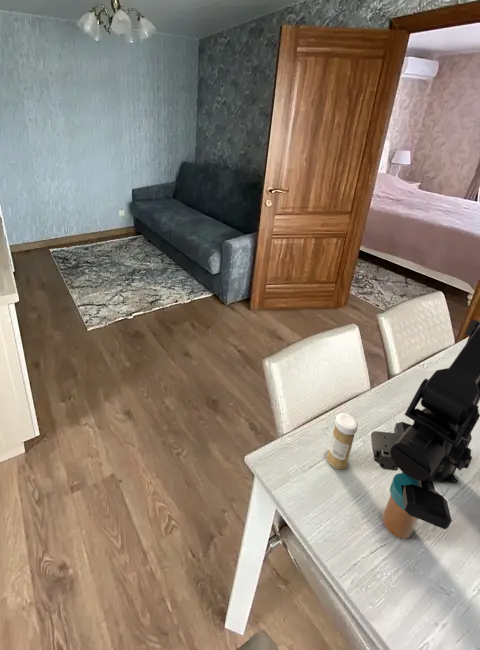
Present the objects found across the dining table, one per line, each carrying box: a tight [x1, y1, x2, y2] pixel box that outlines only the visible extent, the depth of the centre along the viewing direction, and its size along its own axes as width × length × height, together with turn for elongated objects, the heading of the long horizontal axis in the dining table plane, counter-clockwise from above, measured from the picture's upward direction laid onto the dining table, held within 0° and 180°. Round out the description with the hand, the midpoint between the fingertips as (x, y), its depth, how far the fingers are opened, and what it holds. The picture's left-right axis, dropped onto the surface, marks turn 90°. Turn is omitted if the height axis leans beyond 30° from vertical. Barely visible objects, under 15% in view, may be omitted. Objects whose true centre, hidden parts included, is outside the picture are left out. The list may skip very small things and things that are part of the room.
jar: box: [381, 494, 419, 540], centre depth 69 cm, size 5×5×11 cm
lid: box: [389, 472, 418, 510], centre depth 67 cm, size 6×6×3 cm
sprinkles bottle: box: [326, 412, 359, 470], centre depth 81 cm, size 5×5×13 cm
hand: (407, 497), depth 68 cm, fingers closed on lid, 6 cm apart
